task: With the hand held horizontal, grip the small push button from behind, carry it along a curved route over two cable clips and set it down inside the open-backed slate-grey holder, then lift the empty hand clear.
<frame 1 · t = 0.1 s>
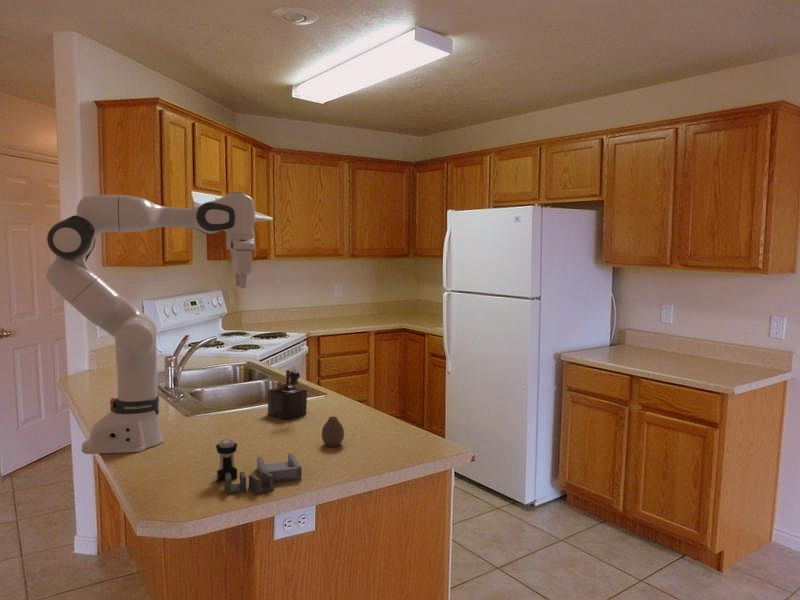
hand: (240, 287, 185), 48 cm above the countertop, tool pointing down, fingers open, 8 cm apart
clip a: (235, 490, 144), on the countertop
end holder: (278, 473, 155), on the countertop
vase: (332, 445, 179), on the countertop
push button: (224, 480, 151), on the countertop
black box with knob: (291, 416, 209), on the countertop
clip b: (261, 489, 145), on the countertop
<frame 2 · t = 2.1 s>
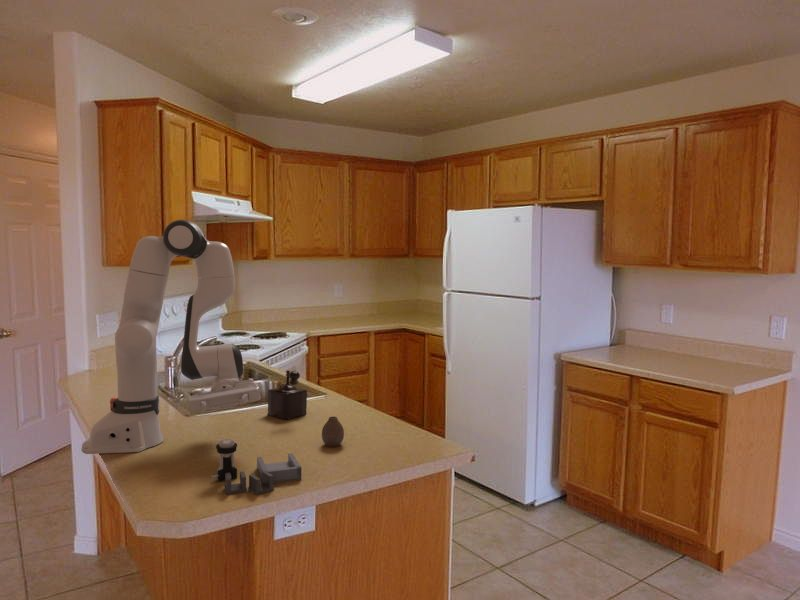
hand: (224, 404, 161), 17 cm above the countertop, tool horizontal, fingers open, 8 cm apart
nothing on the countertop moved.
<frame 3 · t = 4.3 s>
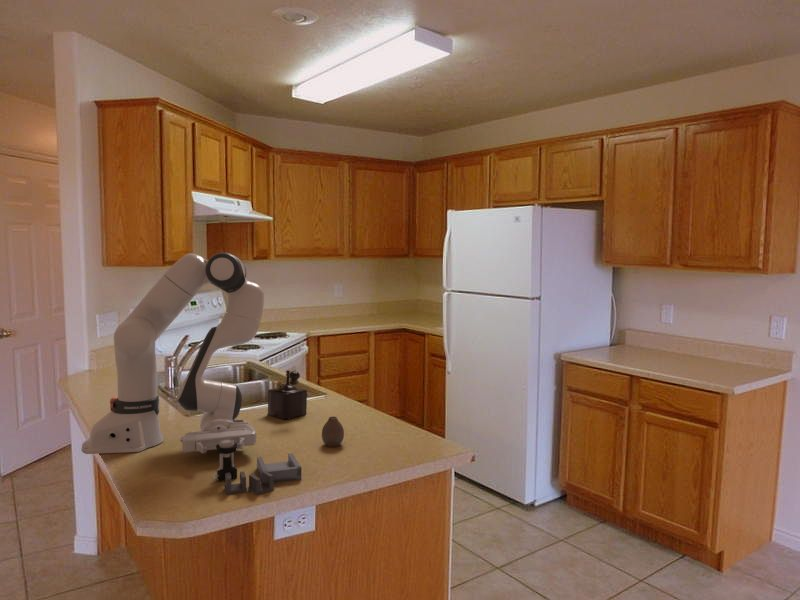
hand: (222, 448, 158), 6 cm above the countertop, tool horizontal, fingers open, 8 cm apart
nothing on the countertop moved.
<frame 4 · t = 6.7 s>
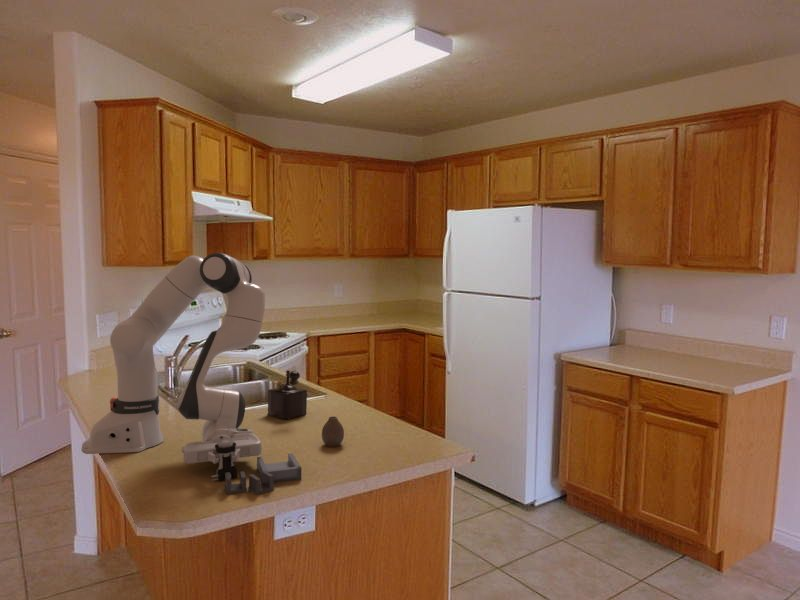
hand: (225, 459, 150), 6 cm above the countertop, tool horizontal, fingers closed on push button, 3 cm apart
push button: (224, 479, 151), on the countertop, touching gripper
everything else where it was.
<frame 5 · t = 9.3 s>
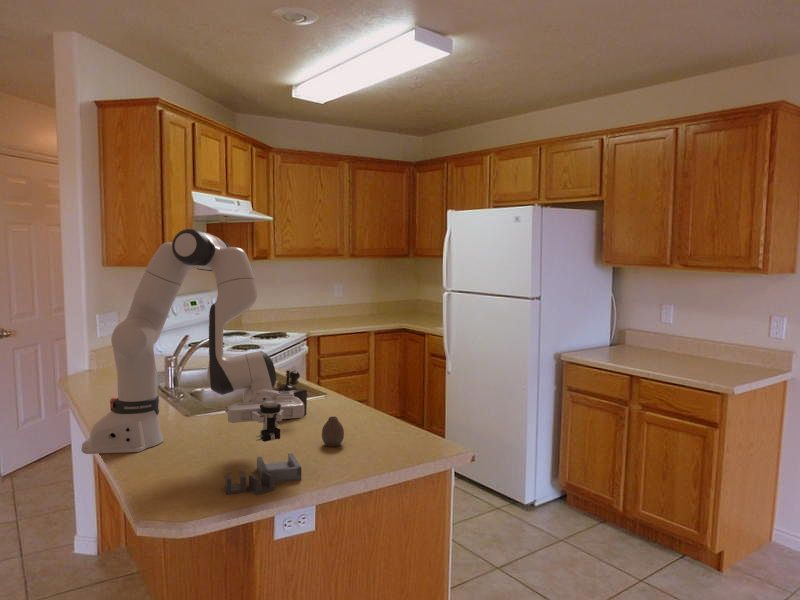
hand: (270, 418, 149), 17 cm above the countertop, tool horizontal, fingers closed on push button, 3 cm apart
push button: (267, 440, 150), point 11 cm above the countertop, touching gripper
everything else where it was.
when the fingers open (7 cm above the countertop, at t = 12.3 s): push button stays where it is, resting on end holder.
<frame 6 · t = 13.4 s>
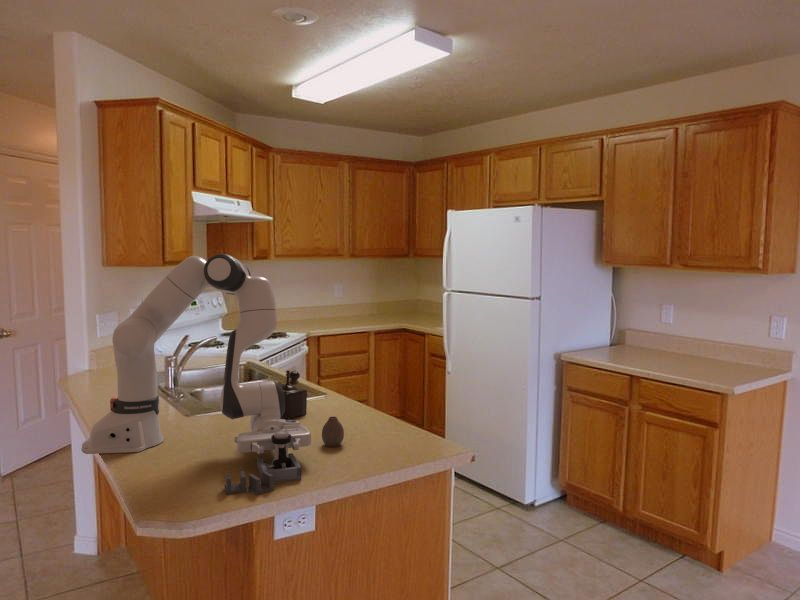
hand: (278, 449, 154), 7 cm above the countertop, tool horizontal, fingers open, 8 cm apart
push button: (279, 469, 156), point 1 cm above the countertop, touching end holder
everything else where it was.
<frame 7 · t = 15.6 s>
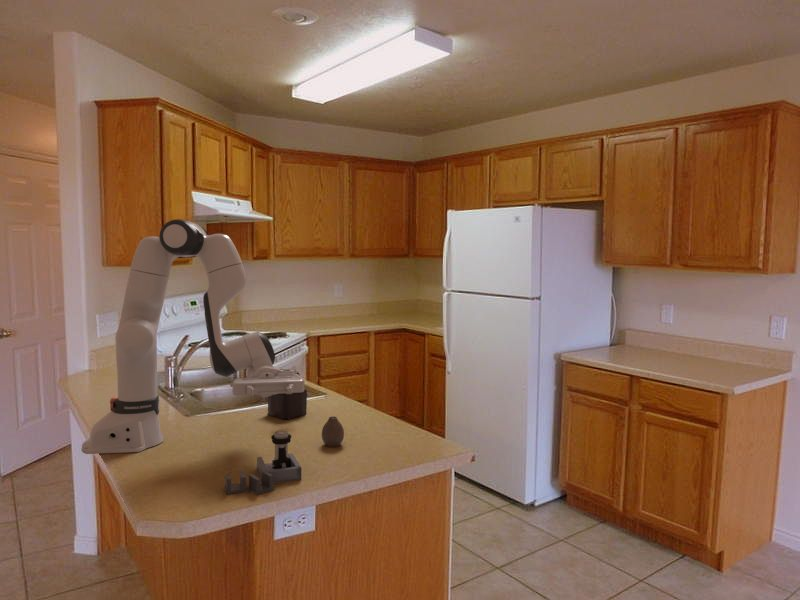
hand: (272, 391, 159), 21 cm above the countertop, tool horizontal, fingers open, 8 cm apart
nothing on the countertop moved.
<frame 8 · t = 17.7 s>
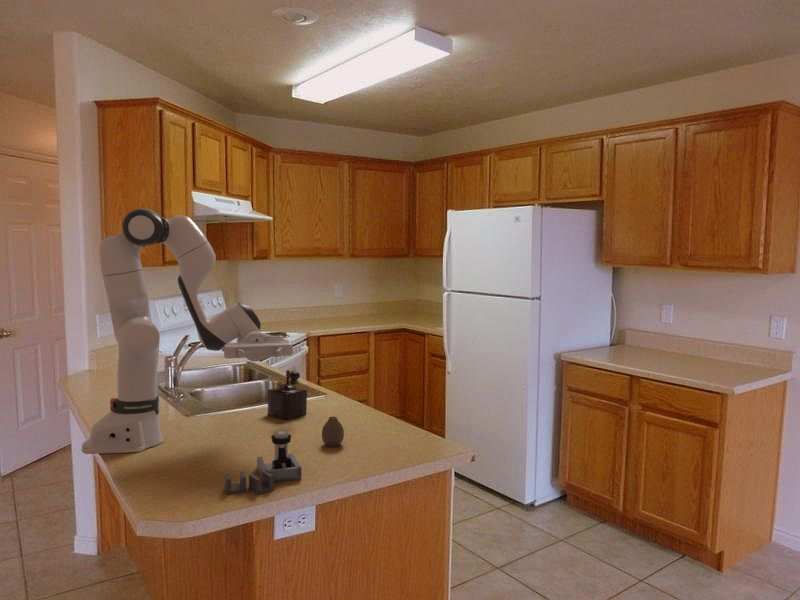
hand: (262, 354, 167), 30 cm above the countertop, tool horizontal, fingers open, 8 cm apart
nothing on the countertop moved.
at the end: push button inside the target area on the end holder (0.5 cm from its centre), point 0.8 cm above the end holder's base; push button tilted 0°; the gripper is holding nothing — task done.
